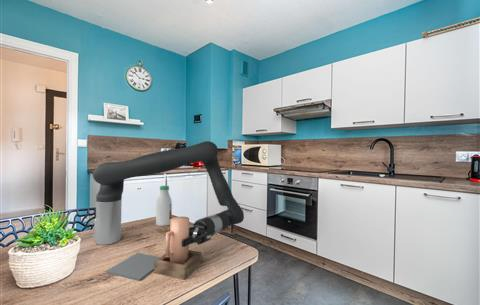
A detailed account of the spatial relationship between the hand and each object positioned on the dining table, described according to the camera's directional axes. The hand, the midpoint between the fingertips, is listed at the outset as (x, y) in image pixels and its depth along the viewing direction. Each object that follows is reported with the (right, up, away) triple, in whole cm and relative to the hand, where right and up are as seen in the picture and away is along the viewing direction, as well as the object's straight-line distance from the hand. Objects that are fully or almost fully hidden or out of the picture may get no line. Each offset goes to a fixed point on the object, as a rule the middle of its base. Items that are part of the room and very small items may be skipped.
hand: (174, 240), depth 70 cm
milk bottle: (-19, -9, +44) cm, 49 cm away
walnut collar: (+1, -10, +2) cm, 10 cm away
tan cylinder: (0, -10, +1) cm, 10 cm away
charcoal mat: (-13, -9, +2) cm, 16 cm away
